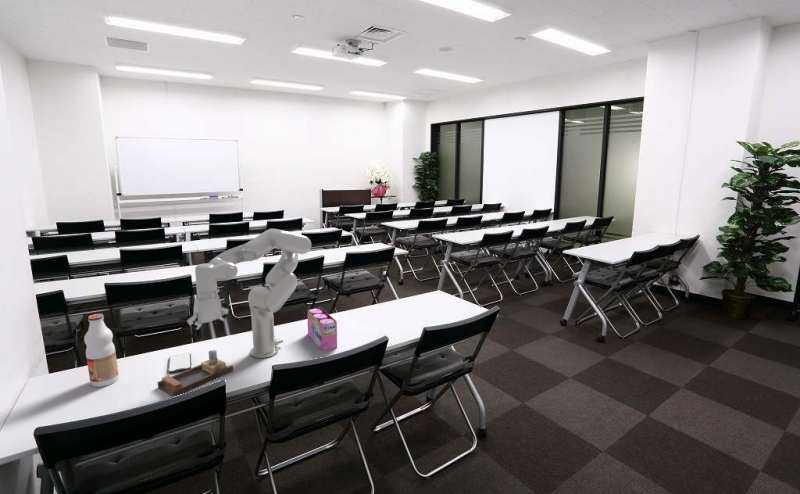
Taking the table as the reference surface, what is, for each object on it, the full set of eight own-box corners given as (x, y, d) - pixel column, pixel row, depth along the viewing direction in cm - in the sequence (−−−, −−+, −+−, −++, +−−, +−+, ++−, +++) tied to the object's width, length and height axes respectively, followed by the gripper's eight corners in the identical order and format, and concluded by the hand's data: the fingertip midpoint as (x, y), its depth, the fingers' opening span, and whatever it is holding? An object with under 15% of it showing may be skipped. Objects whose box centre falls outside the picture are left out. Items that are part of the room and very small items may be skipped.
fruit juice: (110, 387, 163) (101, 320, 157) (85, 388, 162) (74, 320, 156) (123, 375, 172) (115, 311, 166) (99, 375, 171) (90, 311, 165)
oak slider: (215, 363, 180) (213, 346, 178) (226, 369, 175) (224, 351, 174) (202, 369, 175) (200, 351, 173) (212, 374, 171) (211, 357, 169)
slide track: (217, 363, 183) (216, 354, 182) (233, 371, 176) (232, 362, 175) (158, 387, 163) (157, 378, 162) (173, 398, 156) (172, 388, 155)
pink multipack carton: (306, 333, 216) (305, 308, 213) (321, 330, 220) (320, 305, 217) (322, 351, 196) (321, 324, 193) (337, 347, 200) (337, 321, 197)
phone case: (169, 359, 187) (168, 375, 173) (168, 356, 186) (167, 372, 172) (191, 356, 191) (191, 371, 177) (191, 352, 190) (191, 367, 176)
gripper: (221, 287, 177) (223, 325, 181) (181, 297, 163) (184, 338, 167) (231, 290, 173) (234, 329, 176) (191, 301, 159) (194, 343, 162)
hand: (209, 333), depth 172 cm, fingers open, 9 cm apart
